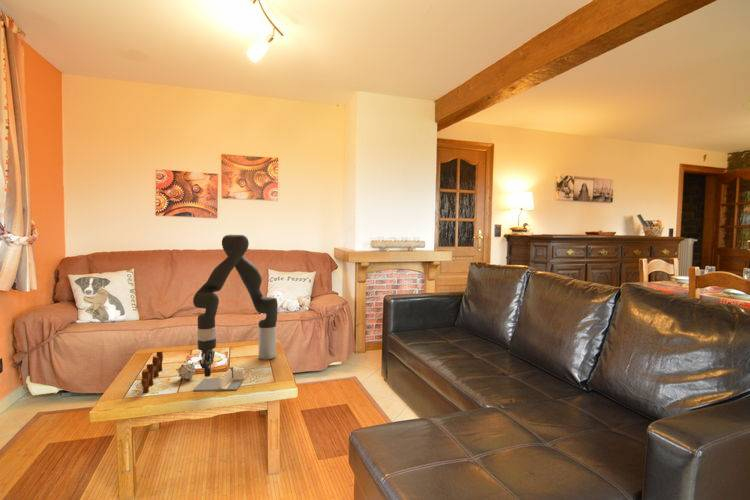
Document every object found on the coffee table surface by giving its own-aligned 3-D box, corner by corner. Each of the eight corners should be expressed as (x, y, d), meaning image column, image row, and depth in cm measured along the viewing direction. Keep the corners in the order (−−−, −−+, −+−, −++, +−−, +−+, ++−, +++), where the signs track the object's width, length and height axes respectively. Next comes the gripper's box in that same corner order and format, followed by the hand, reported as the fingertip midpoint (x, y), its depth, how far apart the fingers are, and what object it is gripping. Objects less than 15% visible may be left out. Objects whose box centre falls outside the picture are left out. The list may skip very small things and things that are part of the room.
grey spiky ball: (191, 386, 184) (205, 368, 185) (178, 386, 176) (192, 368, 177) (181, 373, 188) (195, 356, 189) (168, 373, 180) (181, 355, 181)
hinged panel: (231, 377, 183) (230, 366, 183) (233, 377, 183) (233, 366, 183) (218, 388, 170) (218, 377, 170) (221, 388, 170) (221, 377, 170)
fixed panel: (233, 379, 182) (233, 368, 181) (234, 378, 183) (234, 367, 183) (243, 379, 182) (243, 368, 182) (244, 378, 183) (243, 367, 183)
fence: (158, 368, 197) (158, 348, 196) (164, 367, 197) (164, 348, 197) (139, 395, 165) (139, 372, 164) (147, 395, 165) (147, 372, 165)
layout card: (203, 379, 182) (203, 378, 182) (244, 378, 184) (244, 377, 184) (193, 391, 169) (192, 389, 169) (236, 390, 171) (236, 388, 171)
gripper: (203, 333, 178) (204, 370, 179) (192, 342, 165) (193, 382, 166) (220, 333, 178) (221, 370, 179) (210, 341, 165) (211, 381, 166)
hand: (207, 376), depth 173 cm, fingers closed
